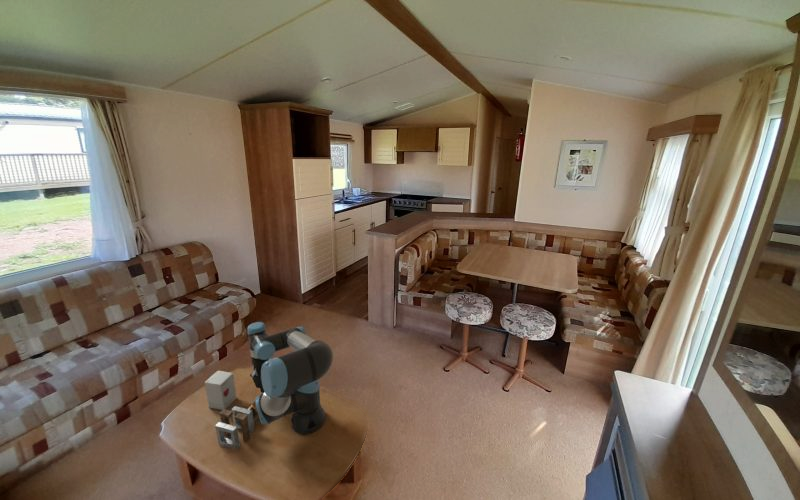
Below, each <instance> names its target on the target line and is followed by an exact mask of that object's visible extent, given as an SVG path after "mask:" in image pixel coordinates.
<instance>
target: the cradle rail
mask: <svg viewBox="0 0 800 500" xmlns="http://www.w3.org/2000/svg"><path fill="white" fill-rule="evenodd" d="M258 420H260V418H259V415H258V411H257V412H256V413H255V414H254V415H253V421H254V424H255V423H256V422H257V421H258Z"/></svg>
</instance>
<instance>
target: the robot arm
mask: <svg viewBox="0 0 800 500" xmlns="http://www.w3.org/2000/svg"><path fill="white" fill-rule="evenodd" d="M246 330H247V333H246V334H247V338H248V342H249V343H248V344H249V350H250V359H251V364H252V366H253V373H250V375H249V377H251V379H252V381H253V383H254V385H255V387H256V388H257V389H260V392H261V394H263V395H261V394H260V395H258V396H256V397H255V399H254V402H255V403H256V407H257V411H258V415H259V422H260V425H262V426H266V425H269V424H271V423H273V422H276V421H277V420H279V419H282V418H284V417H286V416H288V415H291V414H292V416H291V419H290V423H291V429H292V430H293V431H294V432H295V433H296V434H300V435H308V434H313V433H314V432H316V431H318V430H319V429H320V428H322V426H323V425H324V424H325V421H326V413H325V410H324V408H323V406H322V404H321V396H320V384H319V380H321V378H323V377H324V376H325V375H326V374H327V373H328V372H329V371H330V369H331V367H332V364H333V360H334V355H333V349H332V348H331V346H330V345H329V344H328V343H327V342H325V341H323V340H318V339H317V340H315V339H313V338H312V337H310V336H309V335H308V334H307V331H306V330H305V327H303V326H297V327H296V326H295V327H293V328H289V329H286V330H283V331H280V332H277V333H273V334H270V335H268V334H267V333H268V332H267V328H266V324H265V323H264V322H263V321H256V322H252V323H251V324H249V325H248V326H247V329H246ZM289 348H291V349H292V350H293V352H289V353H286V354H285V353H284V354H283V355H280V356H276V357H273V356H274V355H275V353H276V352H278V351H279V352H280V351H282V350H285V349H289Z"/></svg>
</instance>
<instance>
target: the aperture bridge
mask: <svg viewBox="0 0 800 500" xmlns="http://www.w3.org/2000/svg"><path fill="white" fill-rule="evenodd" d="M232 415H233V411H232V410H229V409H227V408H226V409H223V410H220V412H219V417H220V420H221V423H225V424H228V425H231V422H230V418H231V417H233V416H232ZM247 418H248V416H247V415H245V414H241V413H238V414H237V415H236V416H235V417H234V419H235V420H237V421H240V424H241V430H240V431H241V434H242V435H241V437H242V441H243V442H245V443H248V442H249V441H250V440H251V433H250V432H249V425H248V419H247ZM223 432H224V431H223ZM229 436H231V433H228V432H224V437H226V438H228V437H229Z"/></svg>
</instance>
